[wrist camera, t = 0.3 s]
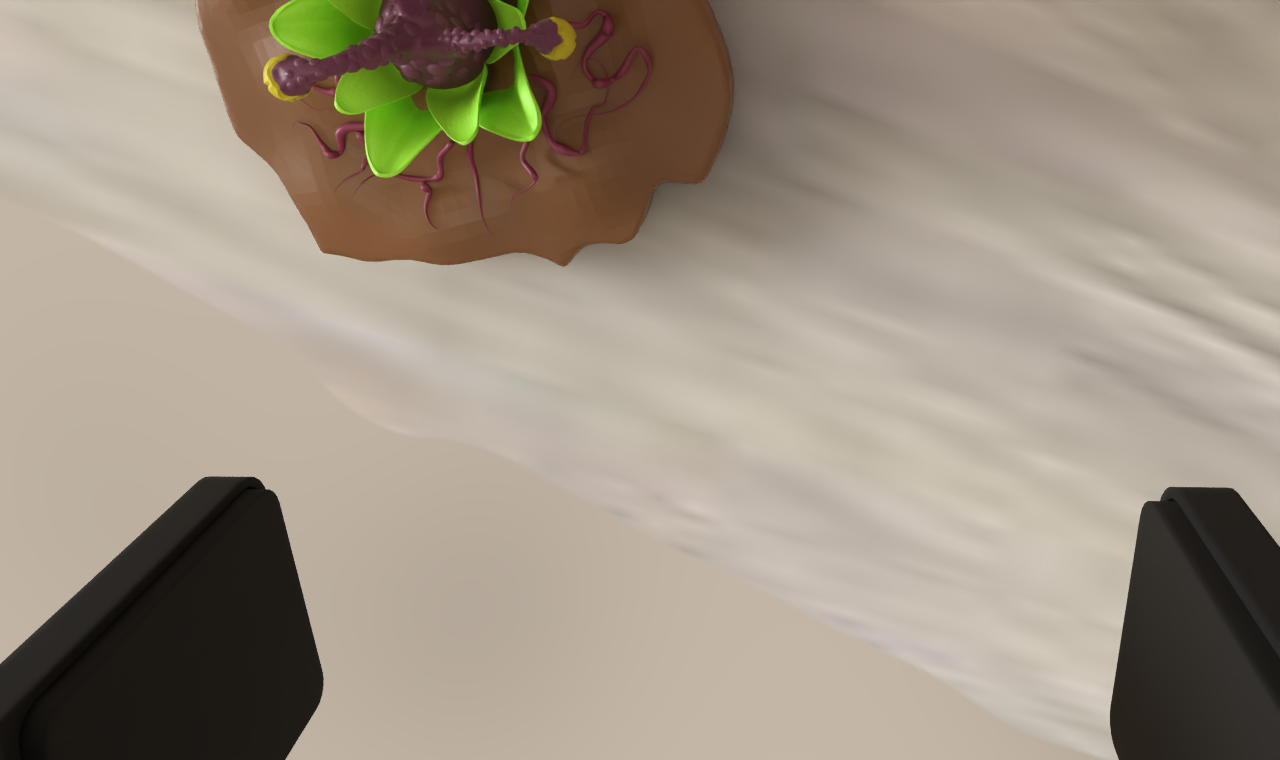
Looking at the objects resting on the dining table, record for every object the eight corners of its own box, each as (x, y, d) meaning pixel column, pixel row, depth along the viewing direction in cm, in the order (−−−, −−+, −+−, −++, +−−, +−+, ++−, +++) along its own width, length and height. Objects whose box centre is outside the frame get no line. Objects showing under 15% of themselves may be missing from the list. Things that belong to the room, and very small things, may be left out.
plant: (136, -188, 37) (-111, -229, 27) (635, -374, 33) (561, -508, 22) (334, 305, 45) (199, 416, 34) (764, 209, 40) (752, 306, 30)
